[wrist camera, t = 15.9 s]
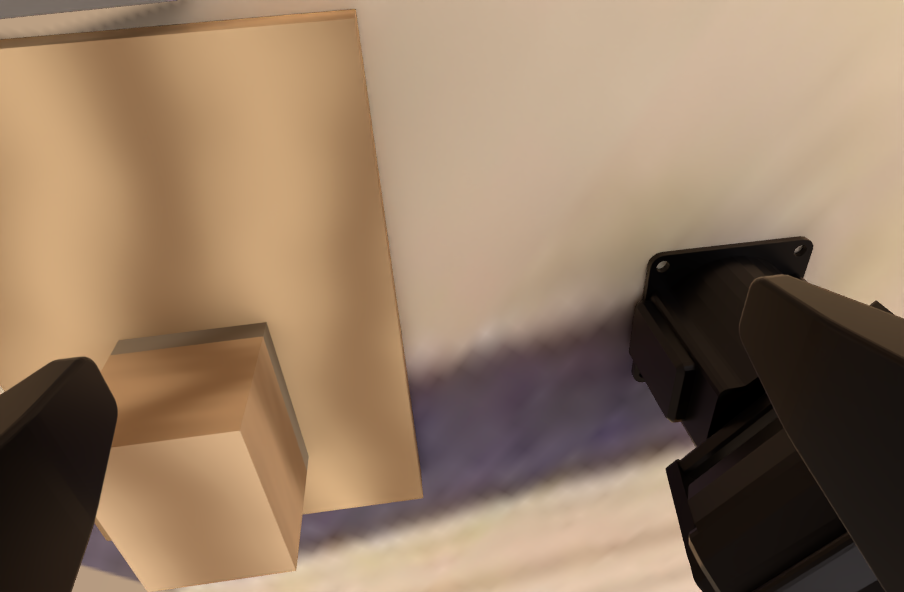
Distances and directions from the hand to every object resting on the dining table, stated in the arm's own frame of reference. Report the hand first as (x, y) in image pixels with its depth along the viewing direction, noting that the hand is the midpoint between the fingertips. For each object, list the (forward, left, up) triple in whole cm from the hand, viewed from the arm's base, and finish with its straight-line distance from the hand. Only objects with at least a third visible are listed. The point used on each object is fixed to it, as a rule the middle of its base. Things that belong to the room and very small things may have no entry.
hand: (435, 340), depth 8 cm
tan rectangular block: (+8, +10, -10) cm, 17 cm away
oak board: (+8, +8, -12) cm, 16 cm away
